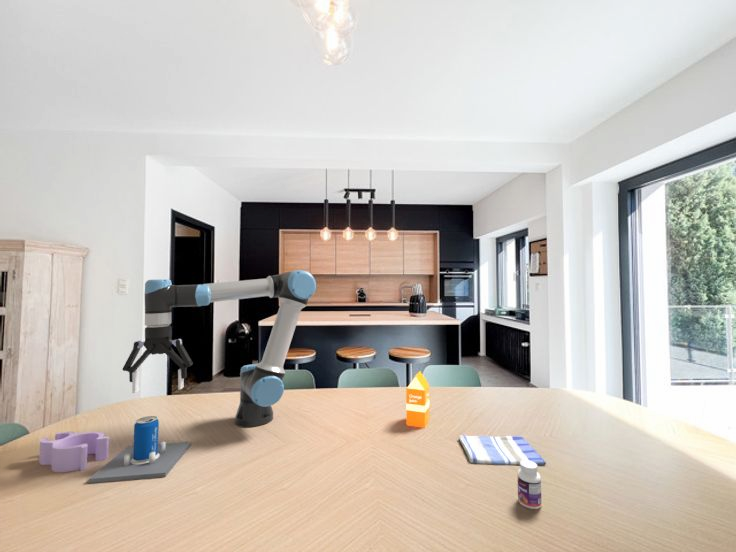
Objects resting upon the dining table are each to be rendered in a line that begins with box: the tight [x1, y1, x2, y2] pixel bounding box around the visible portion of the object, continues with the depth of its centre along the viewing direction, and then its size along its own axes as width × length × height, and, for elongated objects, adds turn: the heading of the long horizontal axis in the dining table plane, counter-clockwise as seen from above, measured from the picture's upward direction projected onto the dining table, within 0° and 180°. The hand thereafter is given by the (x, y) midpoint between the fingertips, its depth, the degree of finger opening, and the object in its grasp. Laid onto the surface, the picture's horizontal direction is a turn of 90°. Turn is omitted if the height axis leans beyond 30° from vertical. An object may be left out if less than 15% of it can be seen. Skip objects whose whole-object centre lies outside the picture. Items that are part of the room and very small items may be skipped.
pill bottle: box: [516, 460, 542, 510], centre depth 84 cm, size 5×5×10 cm
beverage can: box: [133, 415, 160, 462], centre depth 104 cm, size 6×6×12 cm
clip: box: [38, 431, 110, 473], centre depth 105 cm, size 20×12×7 cm, turn 77°
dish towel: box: [457, 434, 547, 466], centre depth 110 cm, size 17×24×3 cm
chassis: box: [88, 441, 192, 484], centre depth 104 cm, size 20×20×4 cm
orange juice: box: [405, 370, 430, 429], centre depth 135 cm, size 8×9×20 cm
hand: (158, 390), depth 109 cm, fingers open, 13 cm apart
